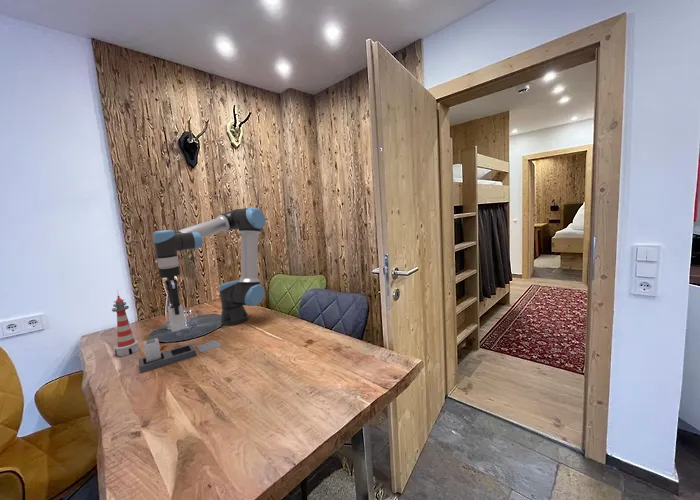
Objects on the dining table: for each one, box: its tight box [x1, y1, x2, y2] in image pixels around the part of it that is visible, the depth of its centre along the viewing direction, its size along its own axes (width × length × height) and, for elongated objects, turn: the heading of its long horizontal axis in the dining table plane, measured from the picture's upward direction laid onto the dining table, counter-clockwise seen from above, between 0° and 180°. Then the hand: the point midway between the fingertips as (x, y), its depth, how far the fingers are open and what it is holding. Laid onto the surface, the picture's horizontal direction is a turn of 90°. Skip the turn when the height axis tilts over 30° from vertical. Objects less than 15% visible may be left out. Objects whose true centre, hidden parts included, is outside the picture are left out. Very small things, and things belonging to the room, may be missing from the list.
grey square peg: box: [167, 302, 187, 333], centre depth 125 cm, size 5×5×10 cm
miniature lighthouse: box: [111, 289, 139, 357], centre depth 134 cm, size 9×9×30 cm
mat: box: [196, 339, 223, 353], centre depth 136 cm, size 9×9×1 cm
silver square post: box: [143, 337, 162, 364], centre depth 120 cm, size 5×5×10 cm
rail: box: [138, 343, 197, 374], centre depth 124 cm, size 20×9×3 cm, turn 128°
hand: (177, 319), depth 125 cm, fingers closed on grey square peg, 5 cm apart
